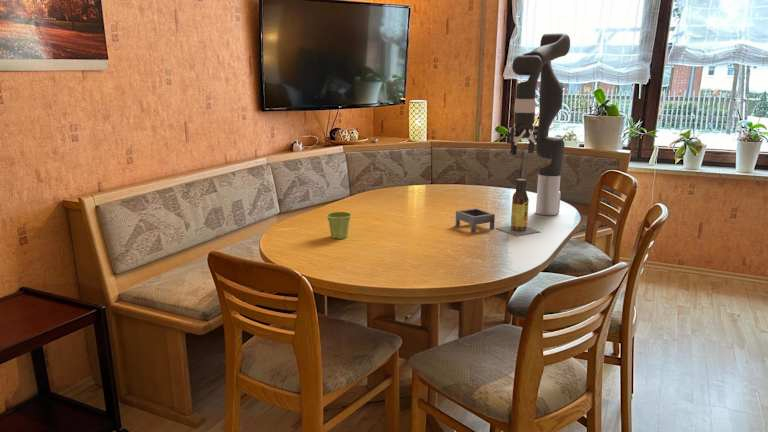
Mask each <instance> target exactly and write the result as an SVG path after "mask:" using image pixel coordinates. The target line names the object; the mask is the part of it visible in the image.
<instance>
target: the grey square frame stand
mask: <svg viewBox="0 0 768 432" xmlns="http://www.w3.org/2000/svg"><path fill="white" fill-rule="evenodd" d="M495 215H496V214H495V213H492V212H489V211H486V210H483V209H480V208H476V207H475V208H469V209H464V210H463V209H461V210H456V211H455V226H456V227H460V226H461V222H463V223H467V224H470V225H471V226H470V232H471V233H476V230H477V227H476V226H477V225H483V224H489V229H490V230H494V229H495V220H496V219H495Z"/></svg>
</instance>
